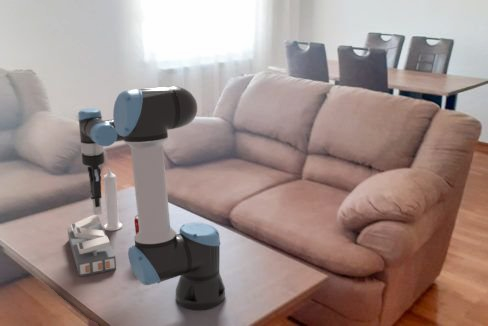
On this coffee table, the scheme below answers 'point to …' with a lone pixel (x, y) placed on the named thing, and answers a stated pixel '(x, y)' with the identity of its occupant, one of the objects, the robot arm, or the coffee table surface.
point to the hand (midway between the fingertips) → (97, 213)
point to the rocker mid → (88, 233)
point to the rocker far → (86, 222)
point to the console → (91, 255)
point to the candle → (111, 202)
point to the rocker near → (93, 244)
